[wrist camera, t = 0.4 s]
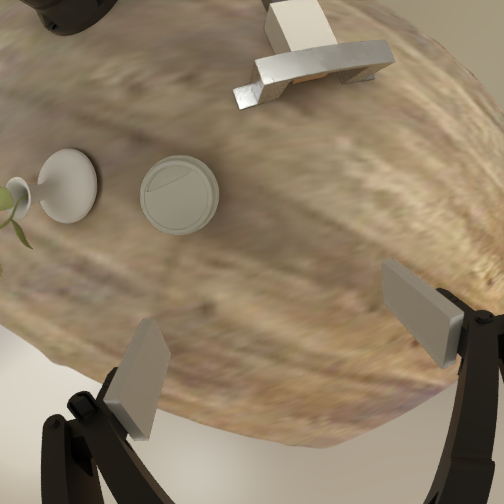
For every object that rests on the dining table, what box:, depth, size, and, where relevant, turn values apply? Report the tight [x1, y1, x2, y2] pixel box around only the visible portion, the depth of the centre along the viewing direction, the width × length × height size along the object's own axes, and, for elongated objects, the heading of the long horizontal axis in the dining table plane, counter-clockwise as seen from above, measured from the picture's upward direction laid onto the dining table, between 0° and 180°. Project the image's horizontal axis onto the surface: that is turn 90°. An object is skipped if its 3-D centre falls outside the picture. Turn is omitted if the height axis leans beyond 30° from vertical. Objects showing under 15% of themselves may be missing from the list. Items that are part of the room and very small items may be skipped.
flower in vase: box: [0, 148, 97, 277], centre depth 27 cm, size 13×11×25 cm
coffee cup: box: [140, 155, 219, 235], centre depth 34 cm, size 8×8×12 cm
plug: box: [262, 0, 338, 84], centre depth 30 cm, size 16×6×8 cm, turn 19°
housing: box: [233, 40, 395, 110], centre depth 30 cm, size 3×21×11 cm, turn 108°
